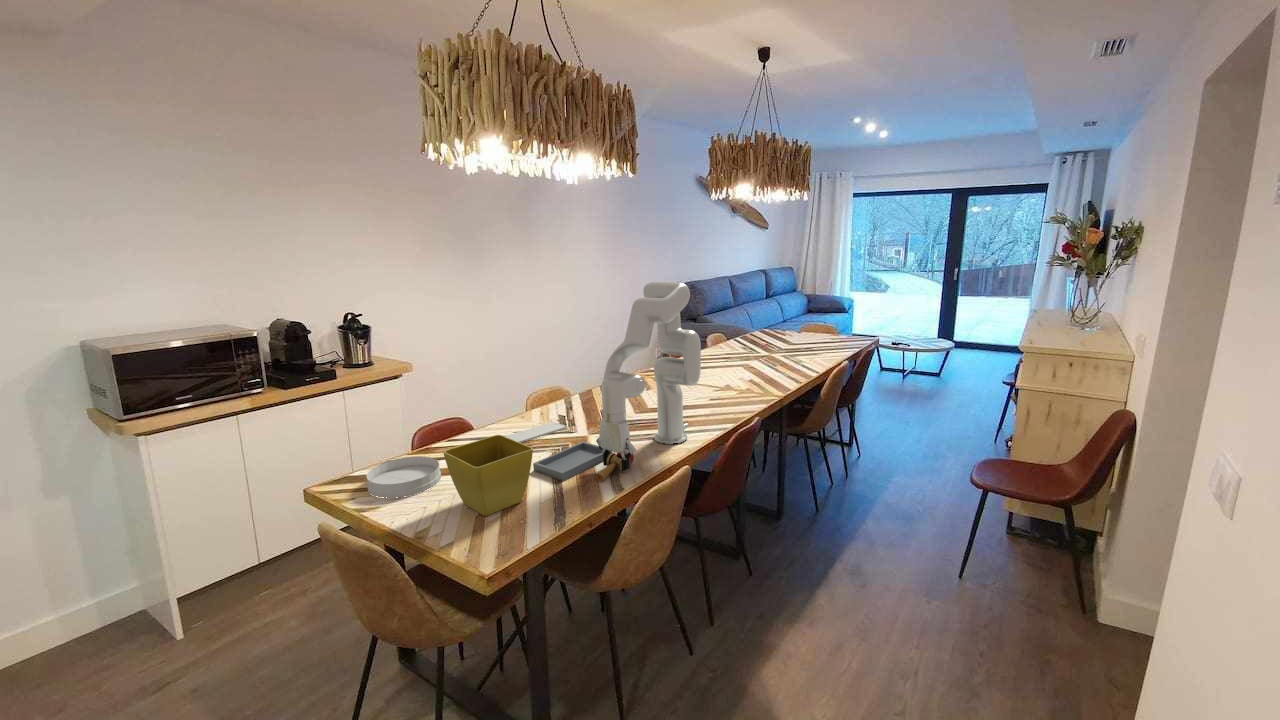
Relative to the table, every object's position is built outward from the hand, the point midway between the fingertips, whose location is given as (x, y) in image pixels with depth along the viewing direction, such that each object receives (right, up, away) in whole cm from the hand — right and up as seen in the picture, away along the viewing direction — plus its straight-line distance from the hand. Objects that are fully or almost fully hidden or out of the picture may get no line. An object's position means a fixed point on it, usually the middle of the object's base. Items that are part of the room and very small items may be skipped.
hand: (616, 466), depth 185 cm
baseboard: (-37, +5, +37) cm, 52 cm away
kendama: (0, -2, 0) cm, 2 cm away
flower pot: (-36, -7, -19) cm, 41 cm away
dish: (-68, -5, -4) cm, 69 cm away
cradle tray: (-15, 0, +7) cm, 17 cm away
